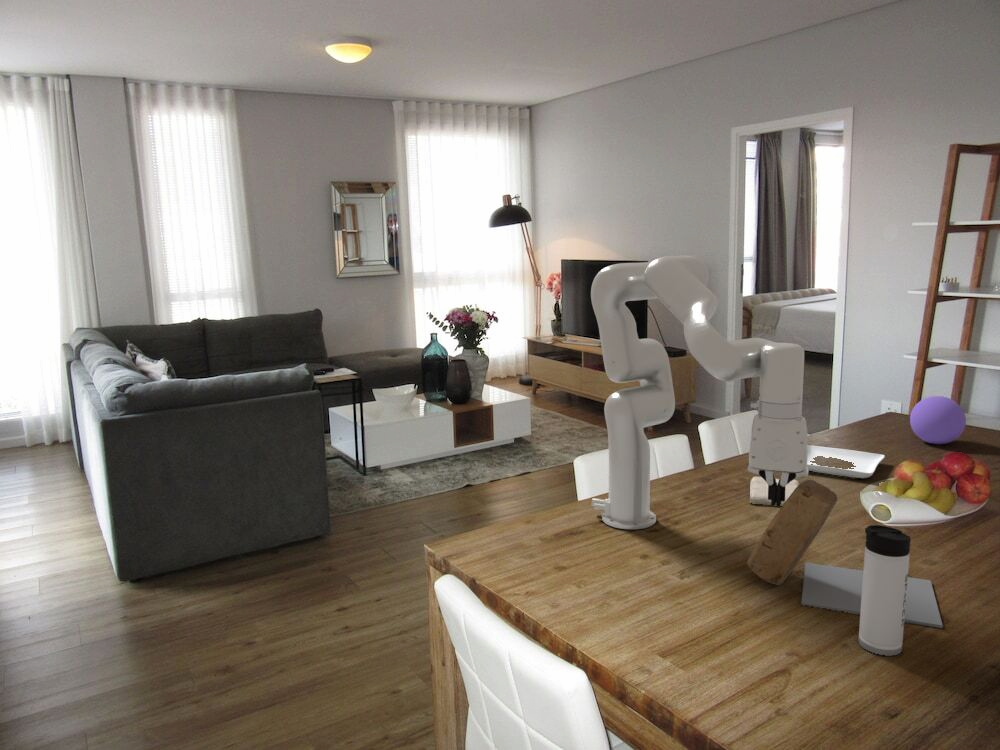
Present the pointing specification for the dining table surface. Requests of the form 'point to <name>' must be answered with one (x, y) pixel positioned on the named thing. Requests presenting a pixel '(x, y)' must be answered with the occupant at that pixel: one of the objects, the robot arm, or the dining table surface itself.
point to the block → (791, 531)
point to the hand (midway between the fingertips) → (776, 503)
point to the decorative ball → (937, 420)
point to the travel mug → (884, 590)
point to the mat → (845, 593)
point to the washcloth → (761, 490)
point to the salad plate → (861, 460)
